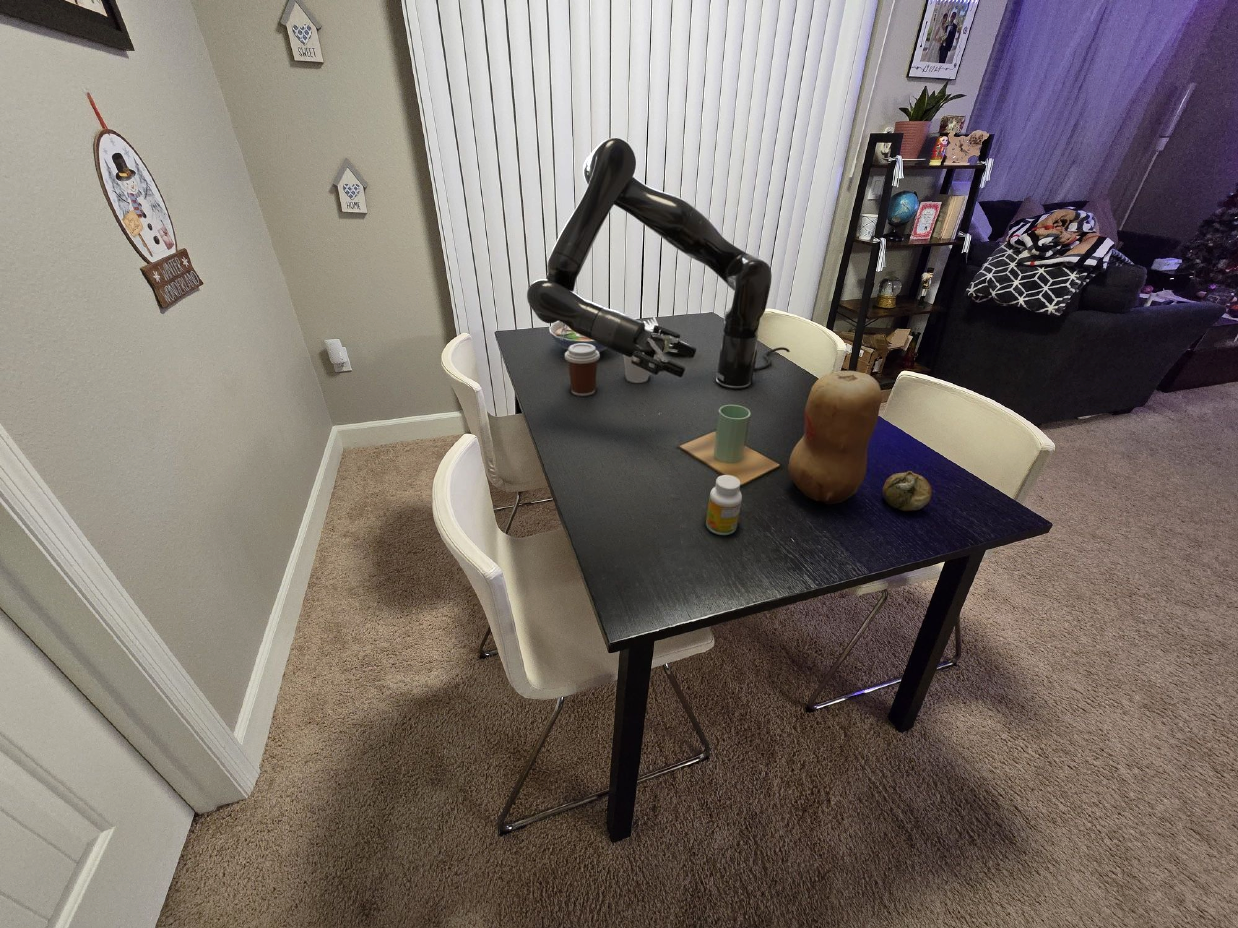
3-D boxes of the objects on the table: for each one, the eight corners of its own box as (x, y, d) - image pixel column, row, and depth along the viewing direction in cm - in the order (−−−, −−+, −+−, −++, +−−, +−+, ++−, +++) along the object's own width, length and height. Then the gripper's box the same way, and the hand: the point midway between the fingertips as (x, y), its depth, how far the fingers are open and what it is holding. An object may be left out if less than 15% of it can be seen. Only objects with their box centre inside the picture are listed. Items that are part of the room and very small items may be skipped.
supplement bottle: (702, 516, 91) (708, 472, 86) (731, 515, 91) (739, 471, 86) (709, 536, 87) (716, 491, 81) (740, 535, 87) (748, 490, 82)
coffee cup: (580, 401, 130) (578, 357, 123) (559, 389, 135) (557, 346, 129) (607, 391, 135) (607, 348, 128) (586, 380, 140) (585, 339, 134)
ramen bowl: (621, 366, 149) (622, 340, 145) (545, 365, 149) (543, 338, 145) (622, 338, 170) (622, 314, 165) (555, 337, 170) (553, 313, 166)
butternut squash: (776, 474, 103) (802, 358, 89) (842, 476, 102) (878, 360, 89) (793, 517, 91) (826, 392, 77) (868, 519, 91) (914, 394, 77)
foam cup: (650, 386, 138) (653, 340, 131) (617, 383, 139) (618, 338, 132) (655, 373, 145) (658, 329, 138) (624, 370, 147) (625, 326, 140)
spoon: (654, 325, 182) (654, 315, 180) (697, 356, 157) (698, 345, 155) (631, 328, 179) (631, 318, 177) (672, 359, 154) (673, 348, 152)
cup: (727, 444, 111) (733, 402, 106) (748, 457, 107) (757, 413, 101) (706, 453, 108) (712, 410, 103) (728, 466, 104) (735, 422, 98)
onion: (930, 520, 91) (947, 485, 87) (884, 515, 92) (898, 479, 88) (917, 496, 97) (932, 461, 93) (874, 491, 98) (886, 457, 94)
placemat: (679, 447, 111) (679, 445, 111) (717, 432, 117) (717, 430, 117) (741, 486, 99) (741, 484, 99) (779, 466, 105) (780, 464, 105)
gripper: (608, 330, 96) (686, 363, 94) (634, 303, 106) (704, 332, 104) (600, 362, 101) (674, 394, 99) (625, 333, 111) (692, 362, 109)
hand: (689, 363), depth 102 cm, fingers open, 8 cm apart
